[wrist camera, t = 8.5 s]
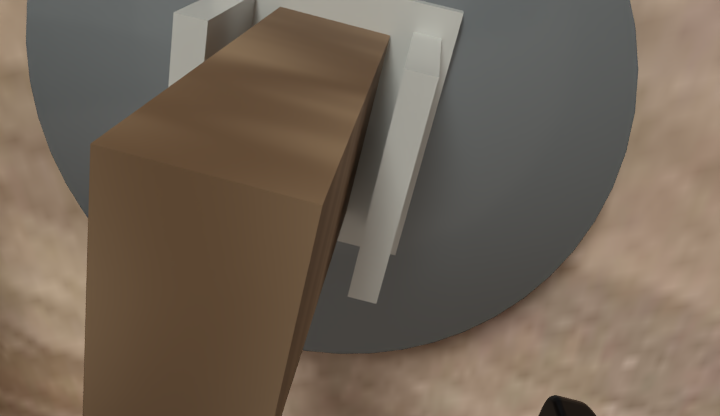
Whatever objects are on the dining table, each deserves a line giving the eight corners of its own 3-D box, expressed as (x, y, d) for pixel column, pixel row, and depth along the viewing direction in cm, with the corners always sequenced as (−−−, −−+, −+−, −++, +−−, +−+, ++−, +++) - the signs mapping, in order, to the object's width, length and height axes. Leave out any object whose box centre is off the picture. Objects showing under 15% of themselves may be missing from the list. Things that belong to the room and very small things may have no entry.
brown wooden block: (390, 35, 13) (322, 204, 6) (345, 213, 15) (257, 490, 8) (280, 6, 13) (90, 143, 6) (250, 188, 15) (82, 444, 8)
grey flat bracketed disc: (739, -153, 12) (876, -170, 8) (511, 376, 19) (527, 506, 15) (48, -318, 13) (-137, -410, 9) (58, 261, 19) (-45, 360, 15)
